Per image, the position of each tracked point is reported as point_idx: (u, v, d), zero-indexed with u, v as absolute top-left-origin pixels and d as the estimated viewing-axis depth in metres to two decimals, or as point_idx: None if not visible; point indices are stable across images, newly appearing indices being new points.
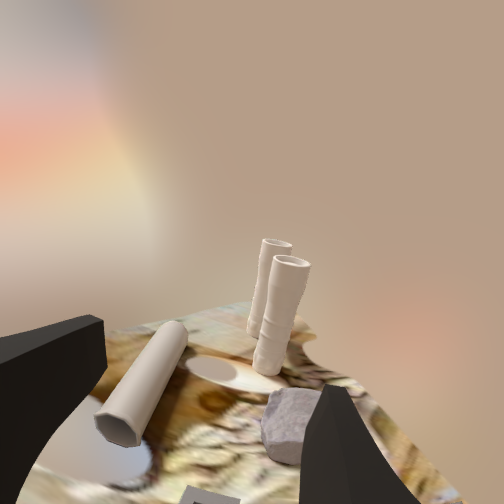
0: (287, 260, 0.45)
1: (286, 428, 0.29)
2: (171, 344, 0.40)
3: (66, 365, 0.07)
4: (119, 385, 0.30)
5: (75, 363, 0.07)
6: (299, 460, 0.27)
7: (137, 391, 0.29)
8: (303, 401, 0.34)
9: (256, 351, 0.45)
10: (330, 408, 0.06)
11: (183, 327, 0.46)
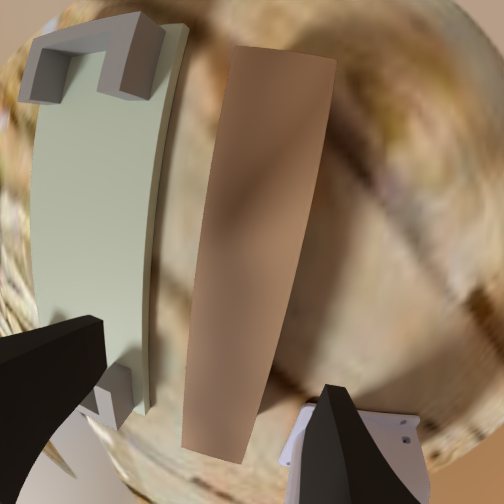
0: None
1: None
2: None
3: (67, 365, 0.07)
4: None
5: (75, 363, 0.07)
6: None
7: None
8: None
9: None
10: (330, 408, 0.06)
11: None
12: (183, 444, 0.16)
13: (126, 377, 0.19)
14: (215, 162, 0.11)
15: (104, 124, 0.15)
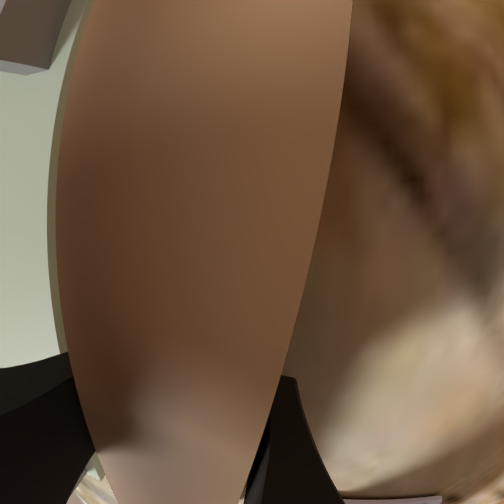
0: None
1: None
2: None
3: None
4: None
5: None
6: None
7: None
8: None
9: None
10: None
11: None
12: None
13: None
14: (63, 162, 0.04)
15: (2, 114, 0.08)
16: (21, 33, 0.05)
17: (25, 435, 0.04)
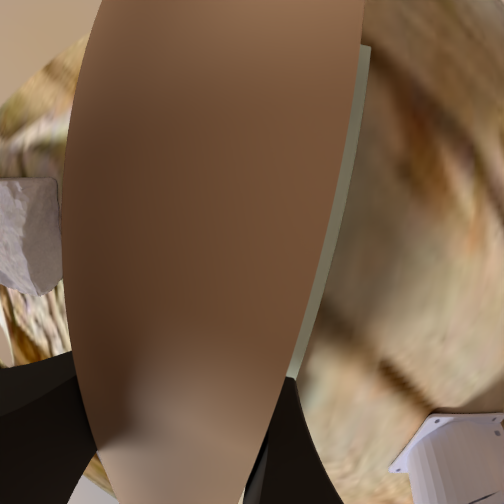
0: None
1: (16, 273, 0.18)
2: None
3: None
4: None
5: None
6: (55, 244, 0.19)
7: None
8: None
9: None
10: None
11: None
12: None
13: None
14: (70, 164, 0.04)
15: None
16: None
17: (25, 436, 0.04)
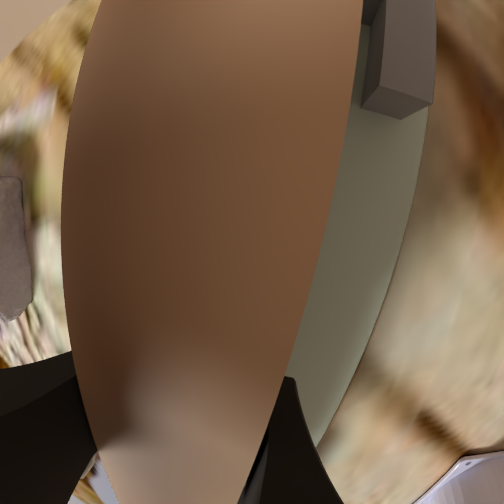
0: None
1: None
2: None
3: None
4: None
5: None
6: (20, 260, 0.14)
7: None
8: None
9: None
10: None
11: None
12: None
13: None
14: (69, 165, 0.04)
15: None
16: None
17: (25, 436, 0.04)
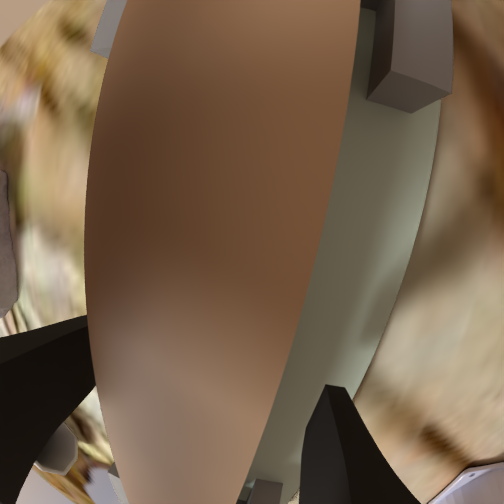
0: None
1: None
2: None
3: (66, 365, 0.07)
4: None
5: (75, 363, 0.07)
6: (5, 257, 0.13)
7: None
8: None
9: None
10: (330, 408, 0.06)
11: None
12: None
13: None
14: (94, 162, 0.04)
15: None
16: None
17: None
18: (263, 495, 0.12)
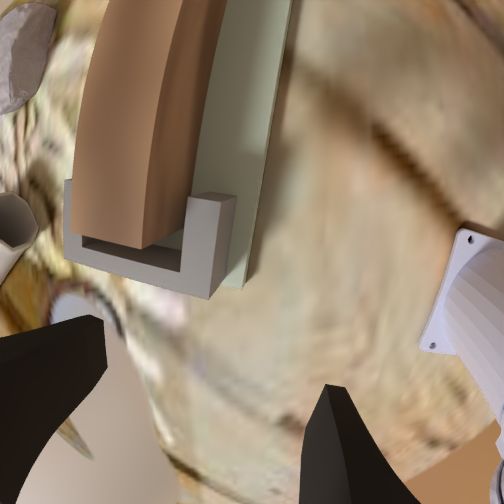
0: None
1: None
2: None
3: (66, 365, 0.07)
4: None
5: (75, 363, 0.07)
6: (40, 56, 0.15)
7: None
8: None
9: None
10: (330, 408, 0.06)
11: None
12: (72, 223, 0.12)
13: (232, 203, 0.15)
14: None
15: None
16: None
17: None
18: (213, 194, 0.14)
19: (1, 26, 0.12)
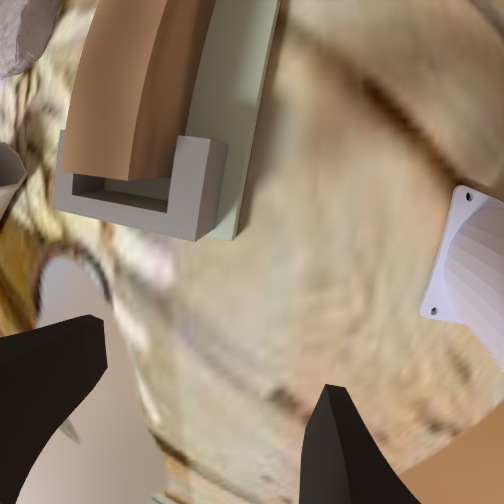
0: None
1: (4, 46, 0.13)
2: None
3: (67, 365, 0.07)
4: None
5: (75, 363, 0.07)
6: (47, 22, 0.14)
7: None
8: None
9: None
10: (330, 408, 0.06)
11: None
12: (63, 163, 0.11)
13: (223, 149, 0.14)
14: None
15: None
16: None
17: None
18: None
19: None
